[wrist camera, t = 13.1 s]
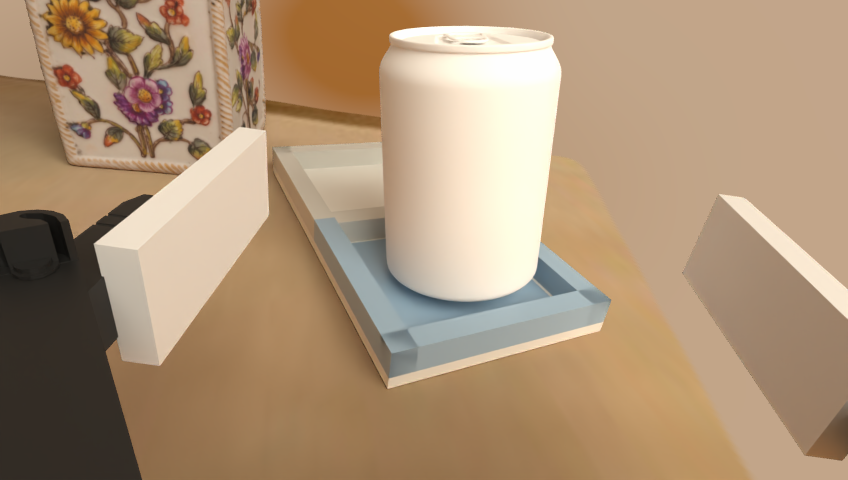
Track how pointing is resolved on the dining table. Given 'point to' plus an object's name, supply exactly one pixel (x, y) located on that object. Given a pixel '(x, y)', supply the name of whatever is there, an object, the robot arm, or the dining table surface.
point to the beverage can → (466, 157)
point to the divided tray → (404, 308)
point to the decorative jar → (149, 77)
